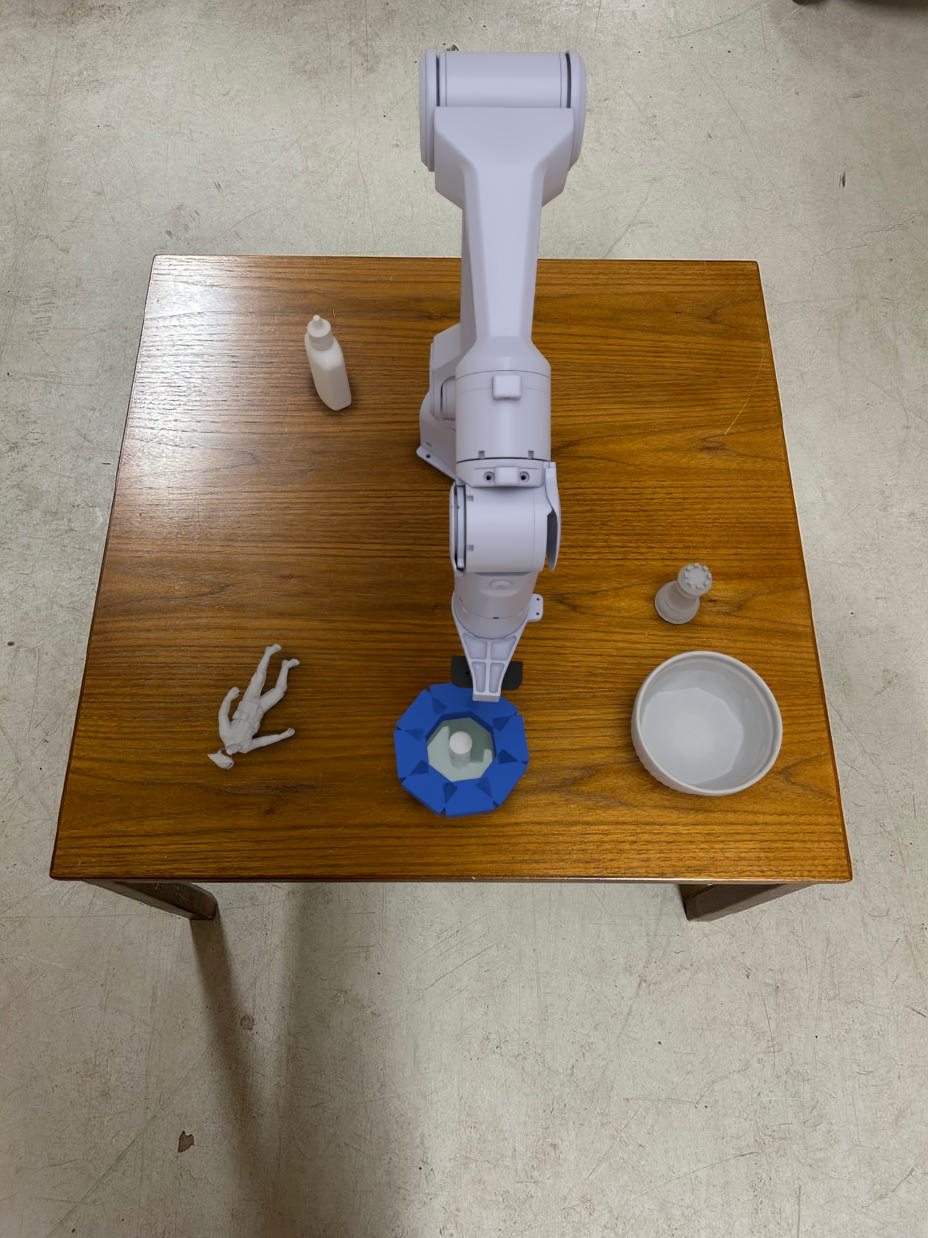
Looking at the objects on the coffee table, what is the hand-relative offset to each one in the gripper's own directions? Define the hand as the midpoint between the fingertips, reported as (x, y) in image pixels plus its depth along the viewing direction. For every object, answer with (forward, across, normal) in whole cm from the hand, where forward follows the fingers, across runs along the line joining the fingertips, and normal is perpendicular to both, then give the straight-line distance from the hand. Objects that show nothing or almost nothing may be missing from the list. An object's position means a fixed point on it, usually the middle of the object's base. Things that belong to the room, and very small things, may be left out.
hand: (485, 640), depth 68 cm
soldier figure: (+10, -5, +21) cm, 24 cm away
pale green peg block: (+10, -9, +2) cm, 13 cm away
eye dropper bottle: (+10, +32, +18) cm, 38 cm away
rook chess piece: (+10, +8, -20) cm, 24 cm away
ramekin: (+10, -5, -20) cm, 23 cm away
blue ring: (+6, -9, +2) cm, 11 cm away
